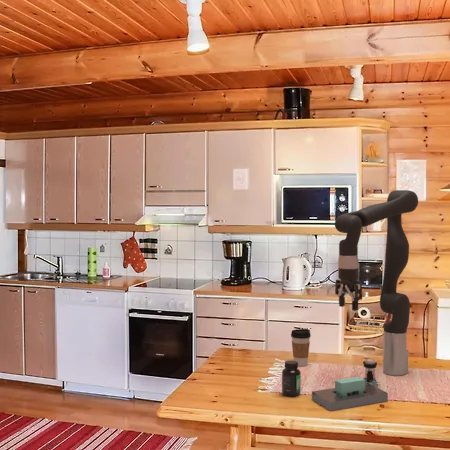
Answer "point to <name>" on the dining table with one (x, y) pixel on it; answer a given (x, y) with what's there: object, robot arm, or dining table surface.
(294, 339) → the coffee cup
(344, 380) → the mint green notched block
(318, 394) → the grey slotted board
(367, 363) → the push button
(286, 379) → the supplement bottle
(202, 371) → the dining table surface
